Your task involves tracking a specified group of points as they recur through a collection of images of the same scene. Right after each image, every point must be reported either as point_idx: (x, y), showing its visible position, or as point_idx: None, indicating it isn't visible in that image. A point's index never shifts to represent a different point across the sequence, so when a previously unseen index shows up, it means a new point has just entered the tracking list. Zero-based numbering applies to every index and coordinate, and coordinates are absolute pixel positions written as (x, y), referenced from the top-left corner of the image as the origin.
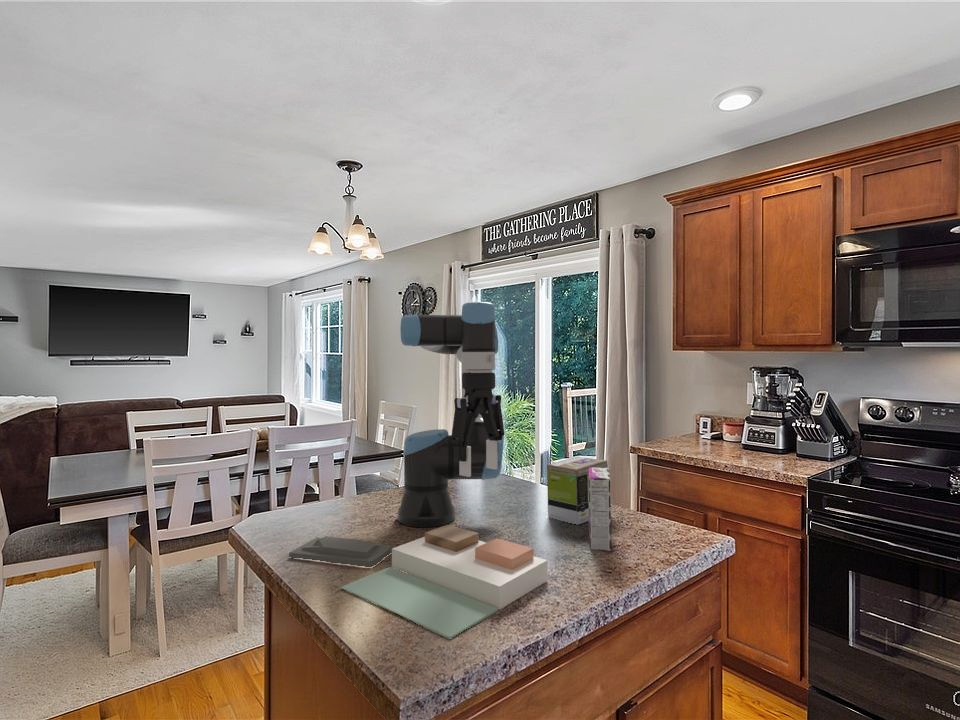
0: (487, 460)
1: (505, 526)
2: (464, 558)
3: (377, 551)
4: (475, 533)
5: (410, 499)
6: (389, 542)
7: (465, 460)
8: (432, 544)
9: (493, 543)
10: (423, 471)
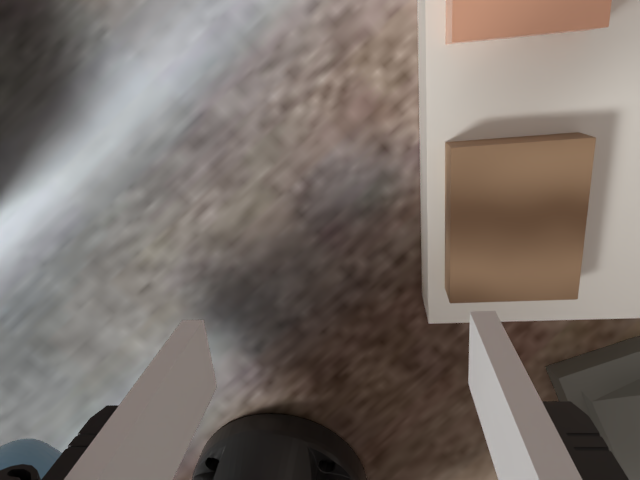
0: (197, 414)
1: (144, 279)
2: (617, 58)
3: (621, 378)
4: (461, 154)
5: None
6: None
7: (546, 405)
8: None
9: (514, 6)
10: None
